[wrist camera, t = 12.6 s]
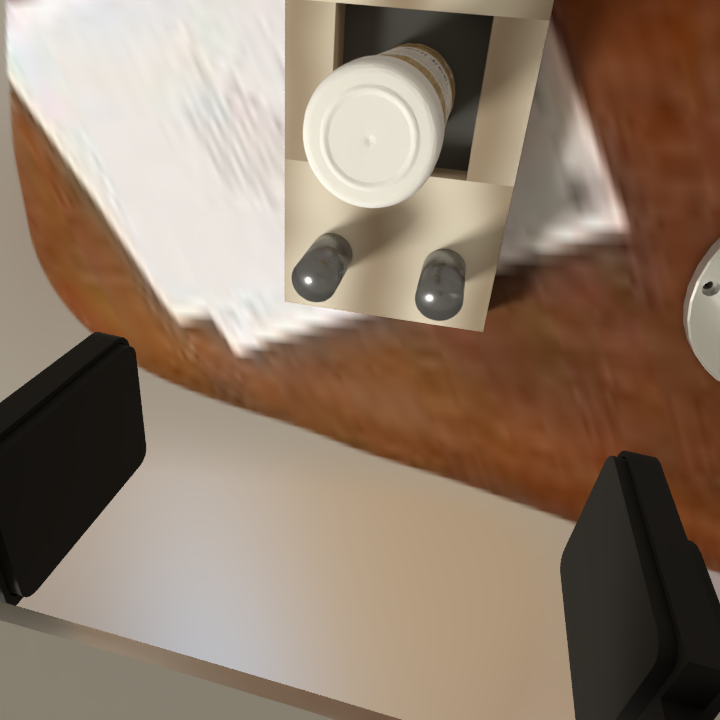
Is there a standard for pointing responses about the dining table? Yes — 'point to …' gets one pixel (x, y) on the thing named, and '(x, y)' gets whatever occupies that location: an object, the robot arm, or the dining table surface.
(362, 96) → the sprinkles bottle
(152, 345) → the dining table surface
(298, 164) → the cream square frame
